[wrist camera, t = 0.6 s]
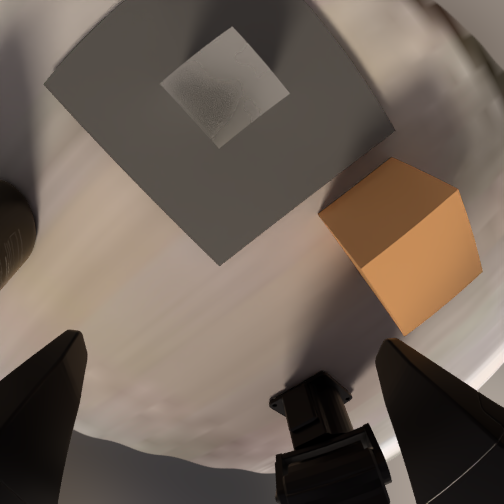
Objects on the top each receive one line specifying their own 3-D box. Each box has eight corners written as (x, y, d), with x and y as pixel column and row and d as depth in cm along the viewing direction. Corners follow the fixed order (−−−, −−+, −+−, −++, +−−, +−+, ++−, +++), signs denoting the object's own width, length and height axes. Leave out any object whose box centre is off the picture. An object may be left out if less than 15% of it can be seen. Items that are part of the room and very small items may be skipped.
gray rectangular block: (266, 94, 16) (290, 93, 11) (217, 133, 17) (219, 148, 12) (226, 48, 14) (232, 26, 9) (176, 87, 15) (159, 83, 10)
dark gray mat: (387, 128, 18) (395, 130, 17) (219, 258, 21) (219, 266, 20) (230, -64, 11) (231, -71, 11) (50, 84, 14) (43, 84, 14)
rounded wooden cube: (425, 225, 22) (482, 271, 16) (361, 275, 23) (404, 336, 17) (391, 157, 19) (458, 189, 13) (317, 214, 21) (360, 268, 14)
